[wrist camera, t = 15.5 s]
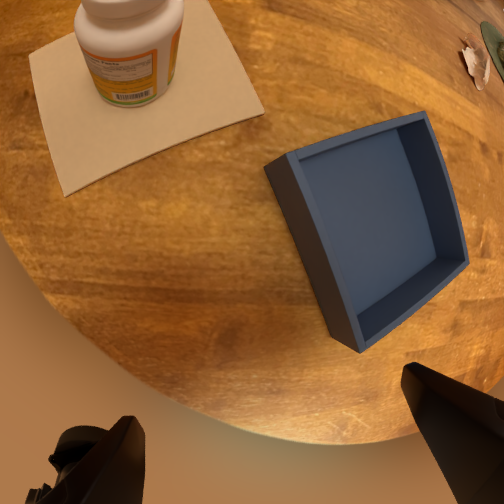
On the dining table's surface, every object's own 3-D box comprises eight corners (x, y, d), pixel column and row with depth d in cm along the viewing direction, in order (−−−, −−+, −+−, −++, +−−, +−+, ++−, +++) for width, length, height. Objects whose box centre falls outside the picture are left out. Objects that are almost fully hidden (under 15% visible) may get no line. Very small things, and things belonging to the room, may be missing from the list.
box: (331, 337, 22) (360, 354, 18) (263, 166, 20) (285, 153, 16) (439, 260, 25) (469, 263, 21) (395, 122, 23) (425, 110, 19)
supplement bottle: (139, 31, 16) (140, -71, 7) (191, 71, 18) (220, -30, 8) (79, 79, 16) (40, -13, 6) (131, 125, 17) (111, 36, 8)
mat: (66, 197, 16) (64, 196, 16) (30, 57, 14) (28, 54, 14) (263, 114, 20) (265, 112, 19) (202, -6, 18) (202, -8, 17)
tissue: (481, 61, 28) (500, 54, 24) (480, 94, 27) (502, 87, 24) (458, 33, 26) (477, 24, 23) (456, 64, 26) (478, 55, 22)
